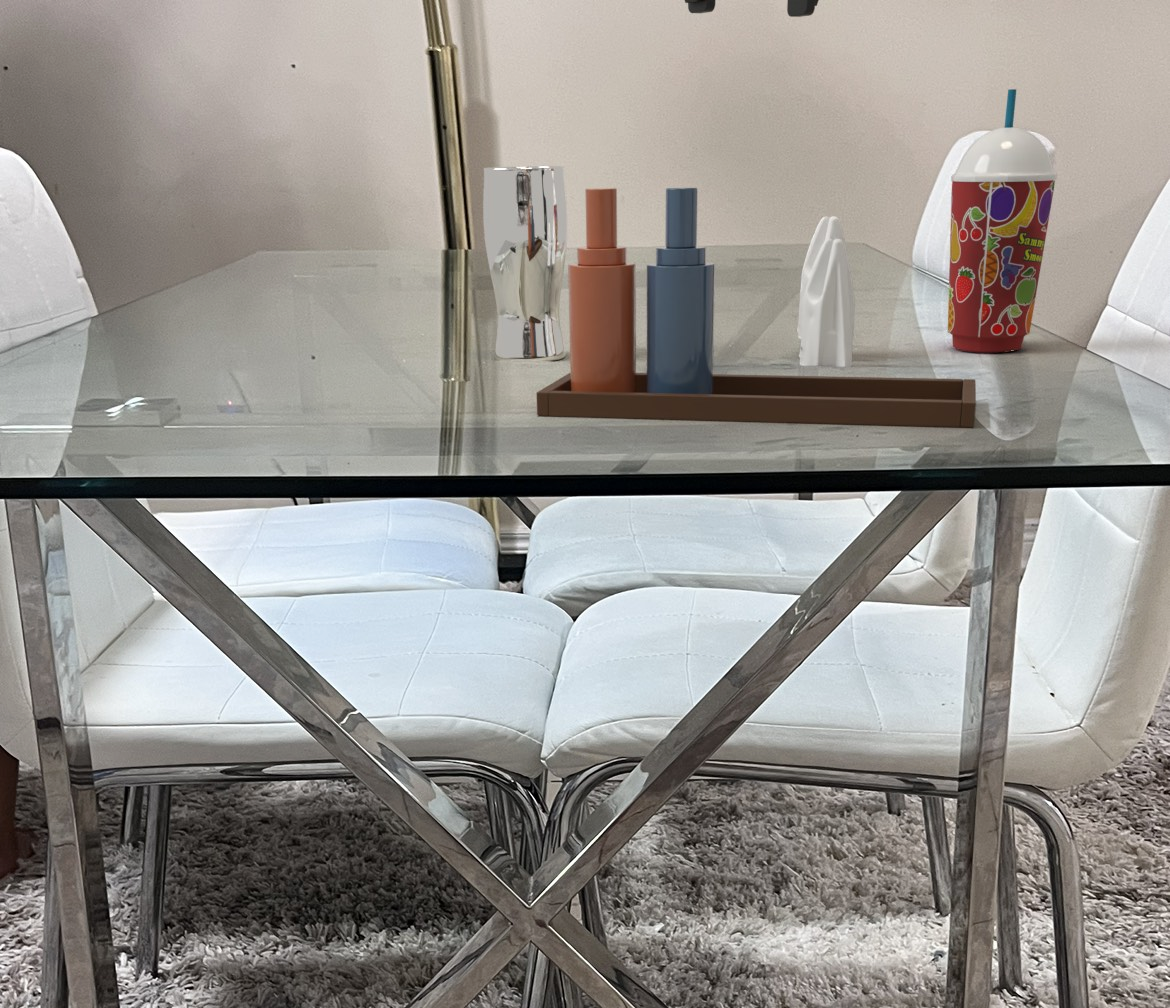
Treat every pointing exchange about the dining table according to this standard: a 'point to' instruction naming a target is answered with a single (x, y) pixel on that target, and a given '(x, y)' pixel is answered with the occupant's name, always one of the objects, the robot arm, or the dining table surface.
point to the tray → (780, 401)
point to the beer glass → (526, 258)
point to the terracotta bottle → (602, 303)
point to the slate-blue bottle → (680, 304)
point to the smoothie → (998, 237)
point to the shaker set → (826, 299)
